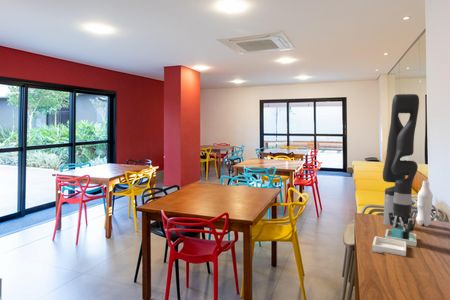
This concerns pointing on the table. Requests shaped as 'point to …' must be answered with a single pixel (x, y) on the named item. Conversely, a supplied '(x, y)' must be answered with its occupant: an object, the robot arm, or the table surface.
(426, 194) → the water bottle
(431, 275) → the table surface
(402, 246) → the cream tray
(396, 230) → the teal cube
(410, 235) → the sage tray
